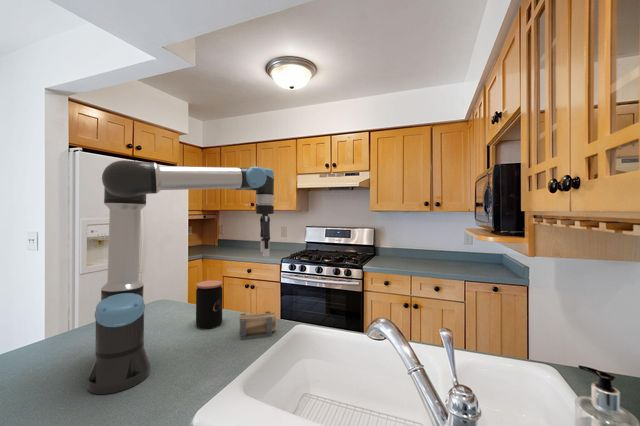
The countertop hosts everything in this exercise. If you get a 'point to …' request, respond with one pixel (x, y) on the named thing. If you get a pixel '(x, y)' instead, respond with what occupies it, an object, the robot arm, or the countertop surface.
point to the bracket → (256, 335)
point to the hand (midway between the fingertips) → (264, 254)
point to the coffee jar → (208, 304)
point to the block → (258, 322)
